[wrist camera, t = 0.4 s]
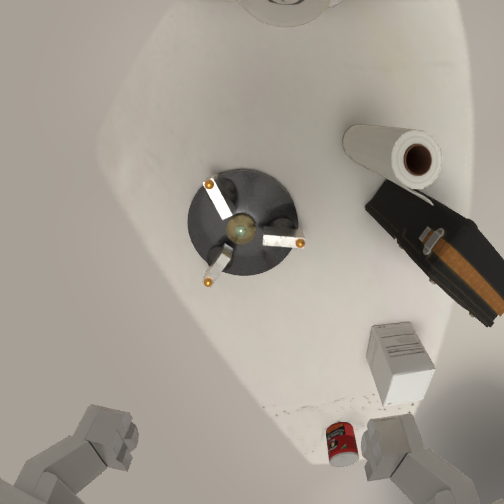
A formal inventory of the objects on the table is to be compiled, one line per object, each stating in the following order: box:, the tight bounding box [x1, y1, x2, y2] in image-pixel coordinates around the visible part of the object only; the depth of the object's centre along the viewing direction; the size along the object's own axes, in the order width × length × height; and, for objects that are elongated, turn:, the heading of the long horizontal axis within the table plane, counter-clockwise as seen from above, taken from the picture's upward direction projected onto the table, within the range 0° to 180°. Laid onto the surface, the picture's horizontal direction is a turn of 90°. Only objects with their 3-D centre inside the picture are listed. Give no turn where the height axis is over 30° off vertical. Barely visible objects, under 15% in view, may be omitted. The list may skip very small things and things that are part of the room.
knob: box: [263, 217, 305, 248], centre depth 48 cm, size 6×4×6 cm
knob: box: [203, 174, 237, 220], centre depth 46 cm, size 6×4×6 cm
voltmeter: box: [365, 179, 504, 327], centre depth 39 cm, size 16×9×25 cm, turn 58°
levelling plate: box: [188, 169, 298, 276], centre depth 51 cm, size 18×18×4 cm
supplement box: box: [366, 322, 435, 407], centre depth 54 cm, size 9×9×15 cm
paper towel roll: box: [343, 125, 442, 205], centre depth 37 cm, size 7×6×21 cm
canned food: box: [326, 422, 359, 467], centre depth 69 cm, size 8×8×11 cm
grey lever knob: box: [202, 244, 234, 287], centre depth 50 cm, size 6×4×6 cm
